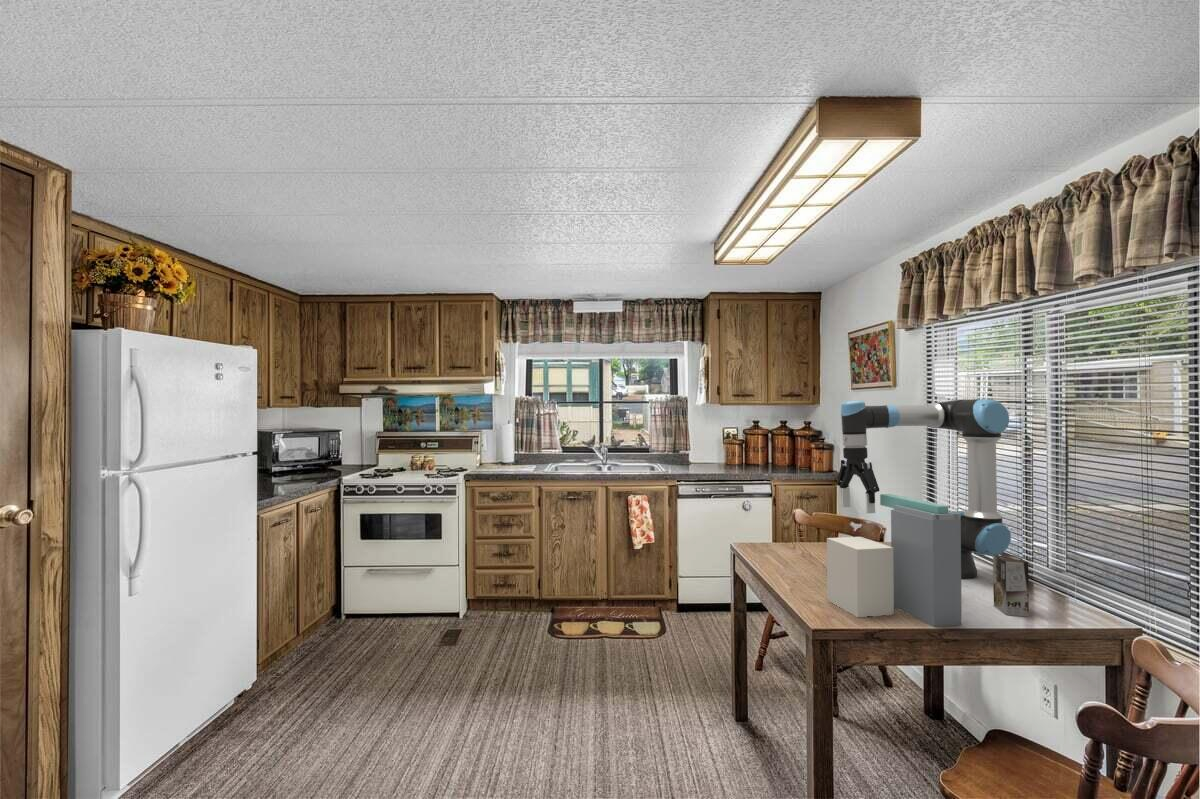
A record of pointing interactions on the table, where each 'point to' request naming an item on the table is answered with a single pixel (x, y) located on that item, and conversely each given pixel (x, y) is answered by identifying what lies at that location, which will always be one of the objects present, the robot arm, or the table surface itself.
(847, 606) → the beige tall block
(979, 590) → the table surface
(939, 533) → the tall grey bin
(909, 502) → the lid bar
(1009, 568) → the coffee box
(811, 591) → the table surface
